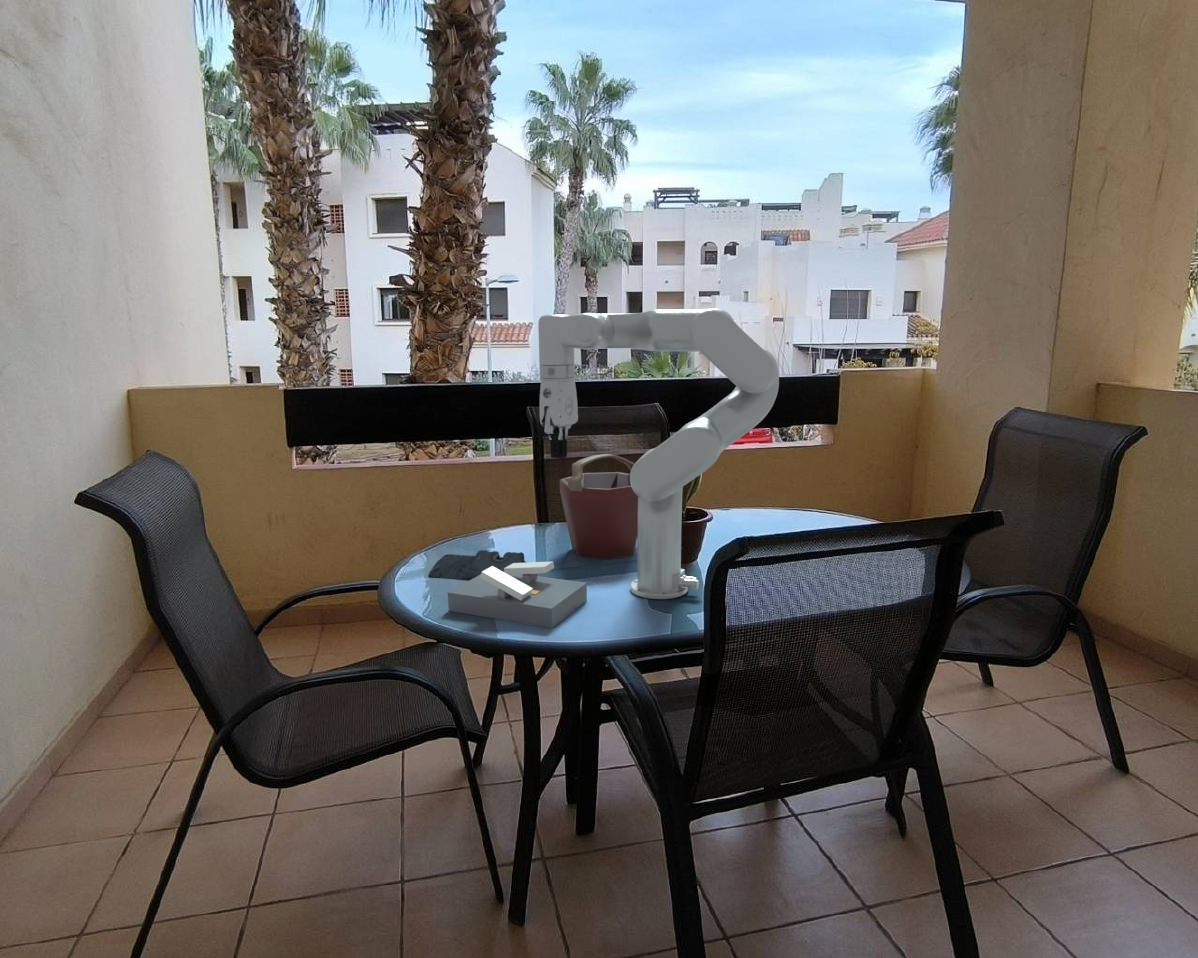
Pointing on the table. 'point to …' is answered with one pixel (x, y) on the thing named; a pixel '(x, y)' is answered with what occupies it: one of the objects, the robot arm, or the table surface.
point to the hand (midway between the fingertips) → (558, 457)
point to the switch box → (539, 608)
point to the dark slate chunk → (472, 564)
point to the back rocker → (529, 568)
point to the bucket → (600, 511)
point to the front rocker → (506, 583)
